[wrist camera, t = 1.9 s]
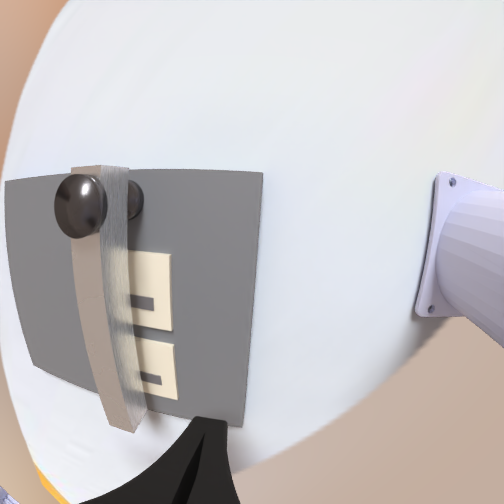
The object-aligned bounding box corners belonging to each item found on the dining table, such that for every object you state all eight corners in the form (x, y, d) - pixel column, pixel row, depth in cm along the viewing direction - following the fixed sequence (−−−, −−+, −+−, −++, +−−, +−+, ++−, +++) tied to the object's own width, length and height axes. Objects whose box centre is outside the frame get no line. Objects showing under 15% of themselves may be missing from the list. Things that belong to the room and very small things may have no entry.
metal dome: (153, 180, 13) (135, 179, 11) (152, 218, 14) (134, 223, 12) (121, 180, 13) (100, 180, 11) (120, 217, 14) (99, 221, 12)
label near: (171, 254, 13) (168, 255, 13) (173, 328, 14) (170, 331, 13) (89, 245, 13) (85, 247, 13) (96, 312, 14) (93, 315, 14)
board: (263, 173, 13) (261, 172, 12) (243, 417, 16) (242, 427, 15) (14, 180, 14) (4, 181, 13) (40, 359, 17) (33, 365, 16)
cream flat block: (174, 344, 14) (172, 347, 14) (178, 396, 15) (177, 400, 14) (99, 327, 14) (95, 330, 14) (109, 379, 15) (107, 382, 15)
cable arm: (136, 167, 11) (100, 163, 8) (153, 411, 14) (136, 442, 11) (94, 169, 11) (55, 168, 8) (119, 401, 14) (99, 429, 11)
